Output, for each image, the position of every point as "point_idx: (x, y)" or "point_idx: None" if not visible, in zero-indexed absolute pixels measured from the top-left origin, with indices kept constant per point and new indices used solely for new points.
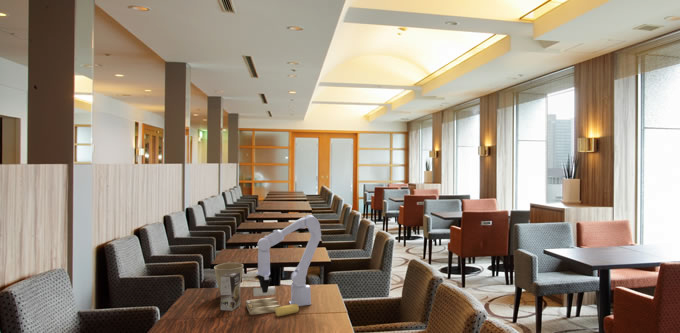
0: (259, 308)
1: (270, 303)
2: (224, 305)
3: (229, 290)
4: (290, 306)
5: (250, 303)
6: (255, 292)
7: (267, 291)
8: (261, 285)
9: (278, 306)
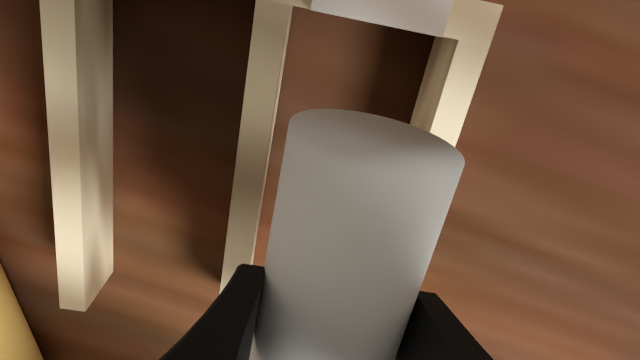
0: (49, 60)
1: (225, 250)
2: None
3: None
4: None
5: (440, 56)
6: (288, 145)
7: (254, 339)
8: (227, 352)
9: (63, 281)
